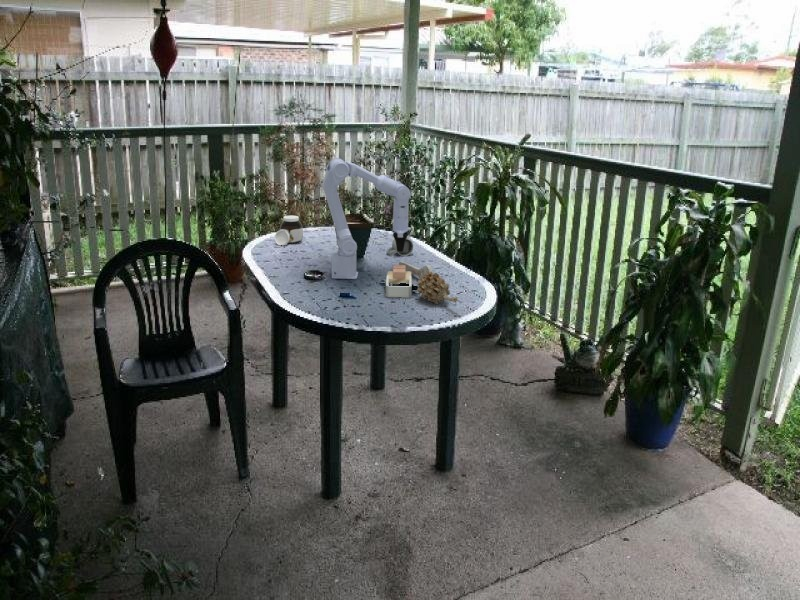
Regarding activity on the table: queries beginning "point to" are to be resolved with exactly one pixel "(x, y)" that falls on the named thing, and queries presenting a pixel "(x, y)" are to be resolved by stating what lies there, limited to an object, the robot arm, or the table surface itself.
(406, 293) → the tray
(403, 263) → the wrench
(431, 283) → the pine cone
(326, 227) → the table surface
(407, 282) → the board
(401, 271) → the tile
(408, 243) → the ceramic mug
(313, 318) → the table surface
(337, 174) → the robot arm
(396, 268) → the tile
